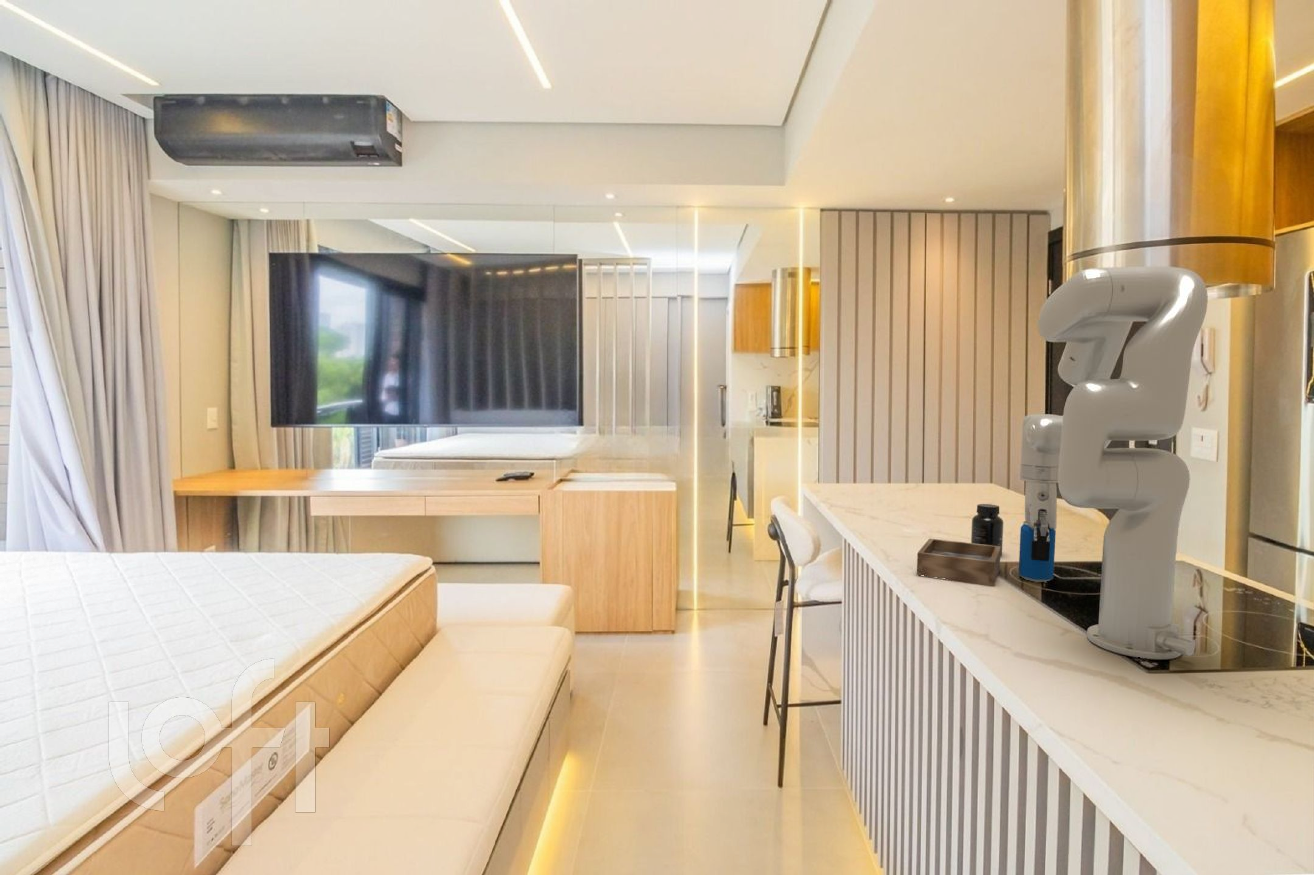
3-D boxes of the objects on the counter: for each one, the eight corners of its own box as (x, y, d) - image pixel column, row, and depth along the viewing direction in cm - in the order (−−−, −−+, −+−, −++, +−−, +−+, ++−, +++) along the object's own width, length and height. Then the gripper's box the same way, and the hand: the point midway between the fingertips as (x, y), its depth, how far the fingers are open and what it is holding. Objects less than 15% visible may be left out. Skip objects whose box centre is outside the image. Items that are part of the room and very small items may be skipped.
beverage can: (1059, 583, 143) (1062, 526, 142) (1027, 583, 143) (1030, 526, 142) (1042, 574, 150) (1045, 520, 149) (1012, 574, 150) (1015, 520, 149)
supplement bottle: (1007, 558, 163) (1009, 508, 162) (978, 558, 163) (980, 508, 162) (993, 551, 170) (995, 502, 169) (965, 551, 170) (967, 502, 169)
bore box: (999, 568, 155) (1000, 546, 154) (993, 586, 142) (994, 562, 141) (928, 559, 162) (929, 538, 162) (916, 575, 149) (917, 552, 149)
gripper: (1068, 480, 135) (1064, 567, 137) (1054, 468, 151) (1050, 546, 153) (1025, 478, 138) (1021, 563, 139) (1015, 467, 154) (1012, 543, 156)
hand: (1036, 554), depth 146 cm, fingers open, 8 cm apart
